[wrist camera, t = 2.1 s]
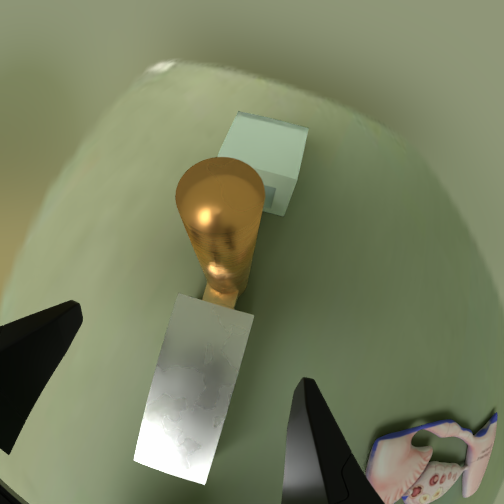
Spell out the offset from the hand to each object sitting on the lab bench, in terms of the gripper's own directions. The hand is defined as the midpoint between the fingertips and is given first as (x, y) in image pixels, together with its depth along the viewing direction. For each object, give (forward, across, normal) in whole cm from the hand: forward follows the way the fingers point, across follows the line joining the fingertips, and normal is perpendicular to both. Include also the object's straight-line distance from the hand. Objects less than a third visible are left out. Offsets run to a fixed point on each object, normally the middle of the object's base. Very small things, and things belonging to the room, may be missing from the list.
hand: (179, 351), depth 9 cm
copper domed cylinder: (+9, 0, +6) cm, 11 cm away
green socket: (+19, 0, -2) cm, 19 cm away
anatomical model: (+2, -27, +16) cm, 31 cm away
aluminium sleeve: (+6, 0, +11) cm, 12 cm away
